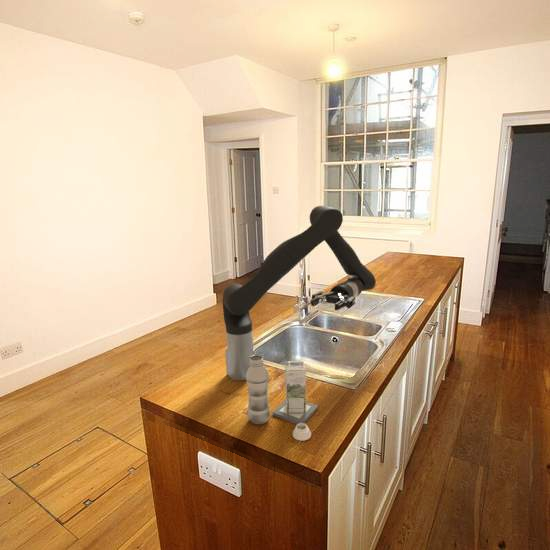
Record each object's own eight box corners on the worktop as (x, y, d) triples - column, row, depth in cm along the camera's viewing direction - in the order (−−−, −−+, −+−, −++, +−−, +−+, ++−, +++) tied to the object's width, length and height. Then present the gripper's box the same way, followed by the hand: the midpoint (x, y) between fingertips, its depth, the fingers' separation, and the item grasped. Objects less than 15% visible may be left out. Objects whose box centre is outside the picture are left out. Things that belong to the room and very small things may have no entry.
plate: (272, 415, 114) (272, 411, 114) (290, 399, 122) (290, 396, 122) (301, 426, 108) (301, 422, 108) (318, 408, 116) (318, 405, 116)
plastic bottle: (252, 412, 116) (249, 351, 111) (273, 415, 114) (271, 354, 109) (244, 425, 110) (240, 361, 105) (266, 429, 108) (264, 364, 103)
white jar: (289, 436, 104) (303, 444, 101) (288, 427, 104) (303, 434, 101) (300, 427, 108) (314, 434, 105) (299, 418, 107) (314, 425, 104)
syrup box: (304, 402, 118) (303, 359, 114) (306, 413, 112) (305, 368, 109) (285, 403, 118) (284, 360, 114) (286, 414, 112) (285, 369, 109)
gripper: (326, 280, 140) (304, 291, 127) (363, 285, 133) (344, 297, 120) (326, 299, 142) (304, 312, 129) (362, 305, 134) (343, 320, 121)
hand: (323, 305), depth 124 cm, fingers open, 8 cm apart
